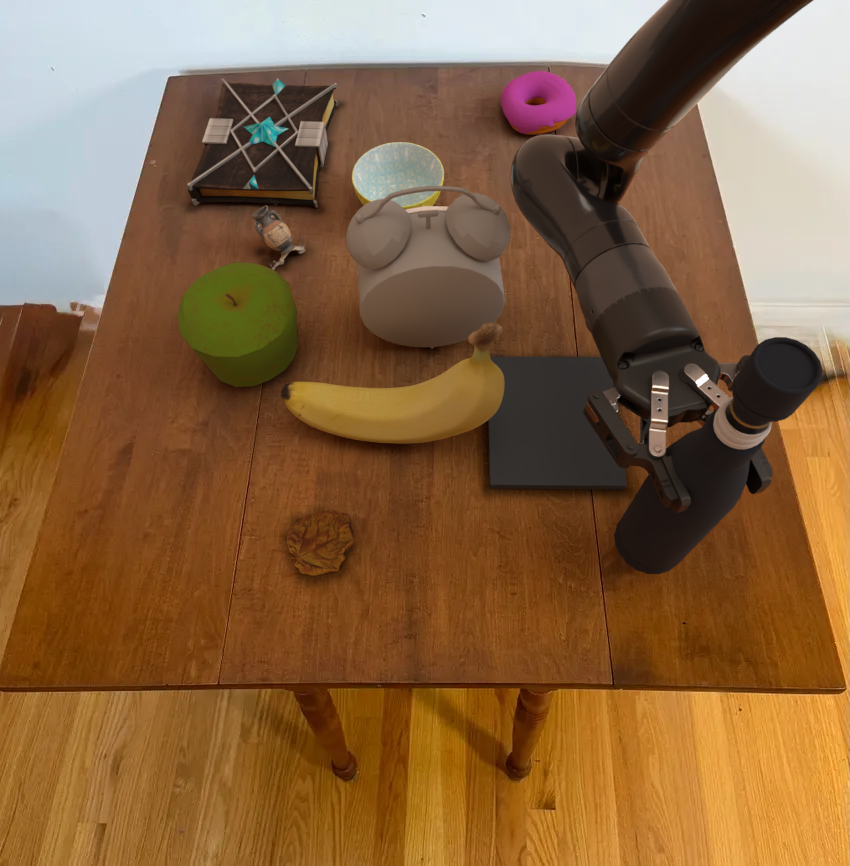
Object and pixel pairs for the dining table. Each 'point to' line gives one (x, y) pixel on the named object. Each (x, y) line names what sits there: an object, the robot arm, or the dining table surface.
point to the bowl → (398, 174)
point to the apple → (241, 322)
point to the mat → (549, 426)
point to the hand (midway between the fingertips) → (722, 497)
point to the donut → (538, 102)
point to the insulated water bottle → (717, 456)
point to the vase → (274, 232)
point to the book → (264, 144)
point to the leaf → (321, 542)
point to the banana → (407, 401)
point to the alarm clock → (429, 267)
